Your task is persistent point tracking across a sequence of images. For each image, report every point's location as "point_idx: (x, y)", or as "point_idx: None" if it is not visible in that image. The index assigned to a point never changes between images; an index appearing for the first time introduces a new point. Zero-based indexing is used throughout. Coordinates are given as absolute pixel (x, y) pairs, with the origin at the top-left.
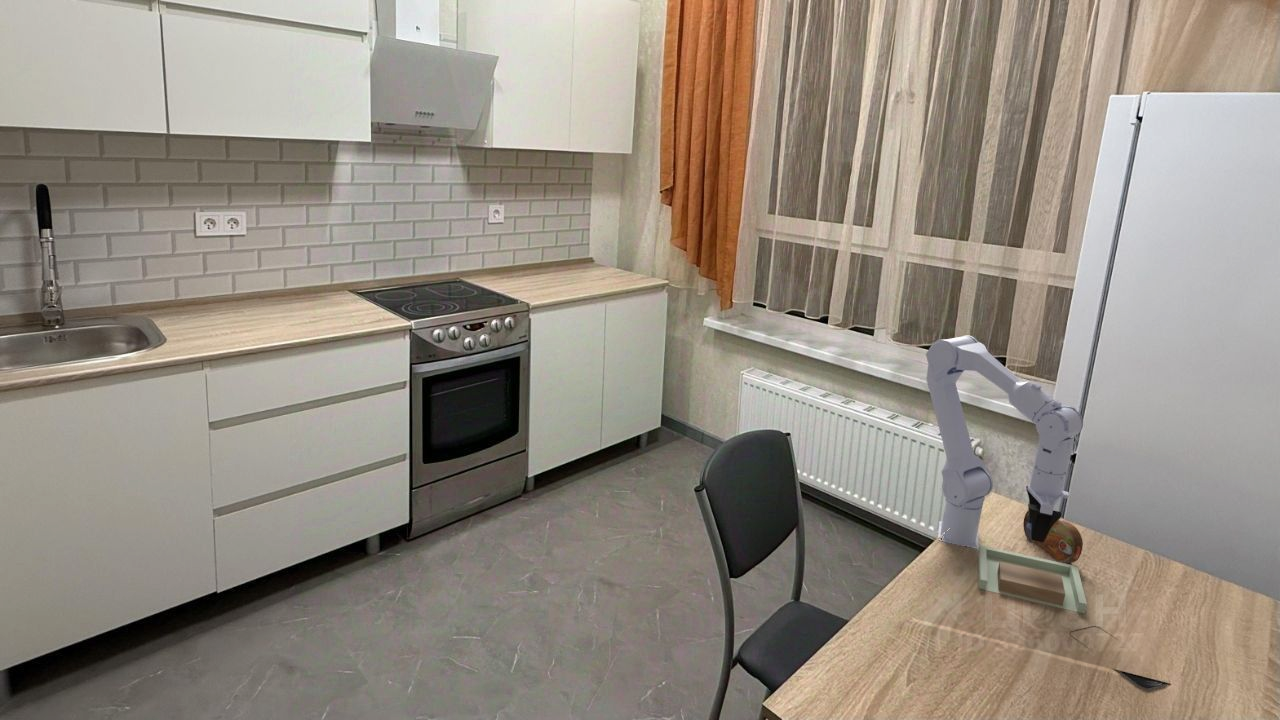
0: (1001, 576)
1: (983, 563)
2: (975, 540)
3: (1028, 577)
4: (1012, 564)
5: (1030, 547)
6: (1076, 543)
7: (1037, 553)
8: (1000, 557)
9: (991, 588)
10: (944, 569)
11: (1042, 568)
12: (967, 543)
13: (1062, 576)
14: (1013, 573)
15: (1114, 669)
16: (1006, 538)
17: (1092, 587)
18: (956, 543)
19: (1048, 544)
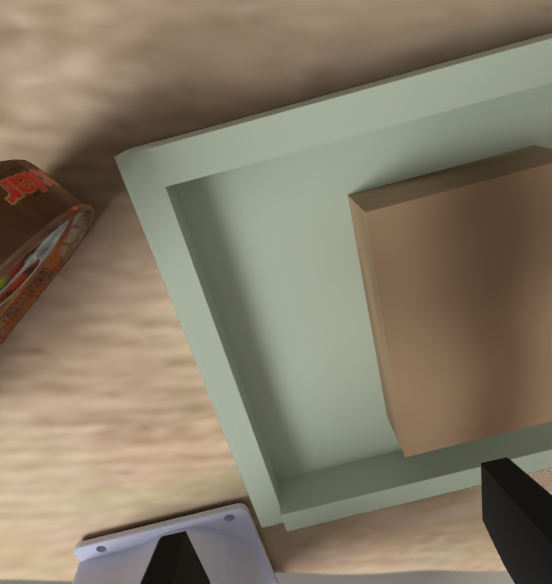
0: (542, 420)
1: (439, 485)
2: (191, 532)
3: (491, 337)
4: (401, 415)
5: (17, 372)
6: (7, 223)
7: (50, 337)
8: (261, 441)
9: None
10: (453, 524)
11: (214, 292)
12: (239, 541)
13: (225, 198)
14: (489, 393)
15: None
16: (28, 458)
17: (199, 31)
18: (262, 559)
19: None
